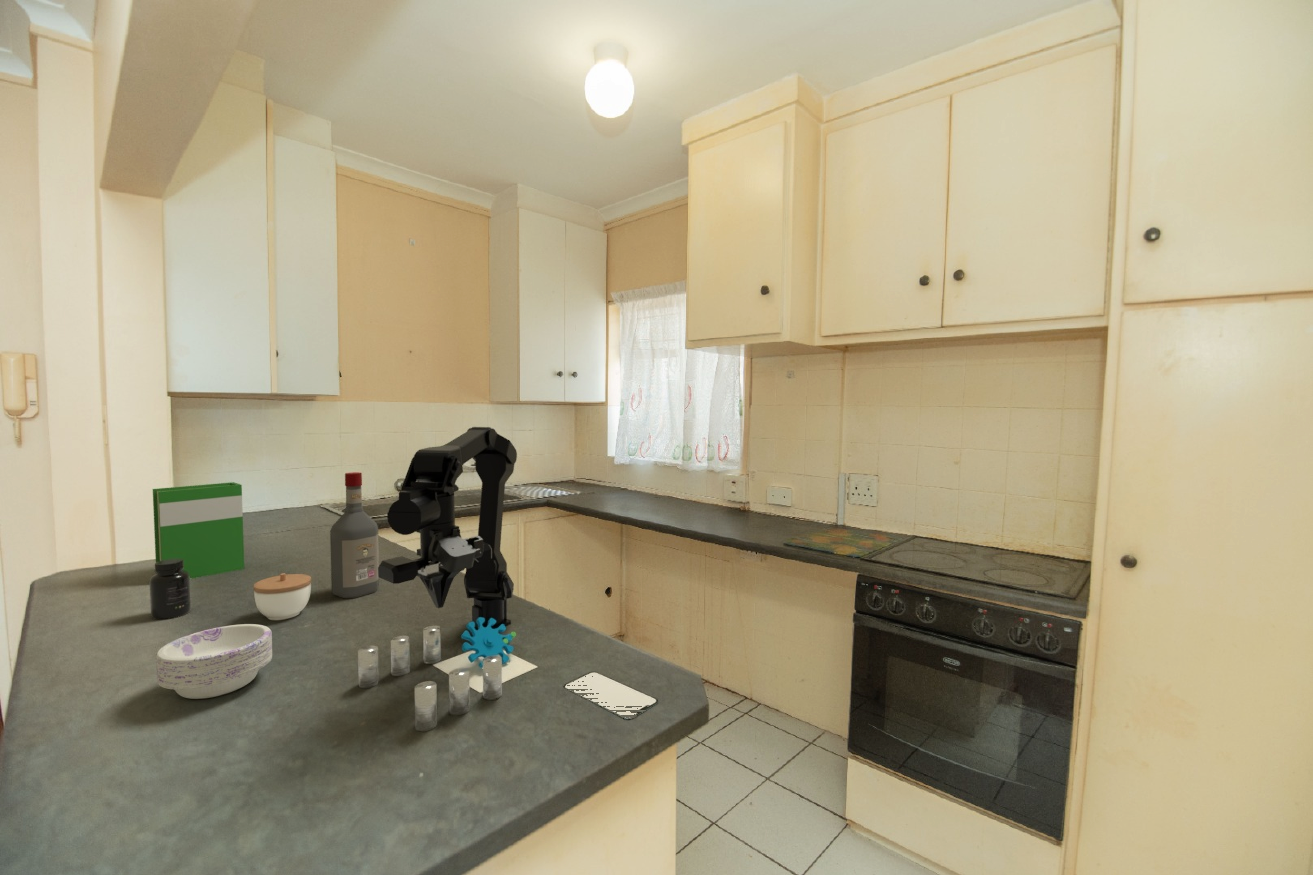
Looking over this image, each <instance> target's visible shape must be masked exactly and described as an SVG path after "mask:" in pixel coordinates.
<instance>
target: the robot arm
mask: <svg viewBox="0 0 1313 875" xmlns="http://www.w3.org/2000/svg"><path fill="white" fill-rule="evenodd" d="M517 458H518V452H517V449H516V448H515V445H513V443H512V442H511V440H510V439H507V438H506V437H505V436H502V435H501V434H499V433H498V432H497V431H496V429H494V428H492V427H490V426H472V427H469V428H467V431H465V432H463V433H462V434H461V435H459V436H458V437H457V436H456V437H455V438H454V439H452V440H451V441H449V442H448V443H445V444H444V445H438V446H429V447H424V448H420V449H418V450H417V451H416V452H415V453H414V454H413V457H412V459H411V461H410V463H409V467H408V469H407V472H406V474H405V477H404V480H403V483H402V485H401V491H399V492H398V499H397V500H395V501H394V502H393V503H392V504H391V505H390V507H389V508H388V512H387V515H386V516H387V523H388V525H389V527H390V528H391V529H392V531H394V532H395V533H397V534H398V535H402V536H409V535H412V534H414V533H415V532H416V533H418V534H420V535H419V540H420V544H419V545H420V548H417V549H416V556H419V557H420V558H416V559H411V558H407V557H405V556H403V555H402V556H398V557H392V558H388V559H384V560H381V561H380V563H379V567H378V577H379V579H382V580H384V581H386V582H388V583H391V584H393V585H395V584H401V583H402V584H403V583H405V582H409V581H414V580H415V578H416V577H418V578H419V579H420V580H421V581H422V583H423V585H424V586H425V588H426V591H427V593H428V595H429V596H430V598H431V600H432V602H433V604H434V607H435V608H437V609H441V608H443V607H444V604H445V603H446V599H447V596H448V593H449V591H450V587H451V585H452V583H453V581H454V579H455V578H456V577H457V575H458V574H459V573H460V572H463V571H464V570H465V573H464V576H463V583H464V589H465V593H466V598H467V599H473V605H472V607H471V621H469V623H470V622H474V623H475V627H474V628H477V629H478V624H477V622H476V620H477V619H478V618H479V617H482V618H484V619H485V621H484V622H483V624H482V626H483V627H487V625H488V621H489V619H490V618H493V619H495V620H496V623H495V624H494V625H493V626H491V628H492V629H496V628H498V627H499V626H500V625H501V624H504V626H506V625H509V624H512V620H511V619H508V616H507V615H508V611H507V610H508V600H507V599H511V598H513V594H514V581H513V580H512V578H511V576H510V575H509V574H508V566H507V565H508V564H507V561H506V559H505V557H504V555H503V553H502V551H501V544H502V543H501V542H502V541H501V540H502V528H503V527H502V526H503V515H504V499H505V488H506V483H507V481H508V480H509V479H510V477H511V476H512V474H514V470H515V464H516V462H517ZM471 459H473V462H475V464H474V465H475V466H474V468H475V471H476V474H477V475H478V477H479V479H480V481H481V491H480V505H479V506H480V507H479V508H480V509H479V517H478V528H477V530H478V532H477V535H475V536H471V537H466V538H462V536H461V529H460V526H459V525H456V516H455V513H456V509H455V492H458V491H459V489H460V488H459V486H458V485H457V484H456V482H457V480H458V478H459V477H460V476H461V474H463V472H464V468H463V466H464V464H466V463H467V462H469V461H470V460H471Z"/></svg>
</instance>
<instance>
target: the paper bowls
mask: <svg viewBox="0 0 1313 875" xmlns="http://www.w3.org/2000/svg"><path fill="white" fill-rule="evenodd" d="M155 656H156V658H155V659H156V679H157V684H158V685H159V686H160V688H161V687H162V688H164V689H168V690H174V692H176V693H177V695H179V696H181V697H183V698H186V699H192V700H194V699H195V700H199V699H202V700H203V699H209V698H214V697H219V696H223V695H226V694H229V693H232V692H235V691H237V690H239V689H241V688H244V687H246V685H249V683H251V682H252V681H253V680H254V679H255V678H256V676H257V674H258V673H259V670H261V669H262V668H264V667H265V666H266V665H268V664H269V663H270V662H271V661H272V659H273V634H272V630H271V629H270V628H269V627H268V626H266V625H262V624H254V623H244V624H243V623H242V624H233V625H231V624H230V625H225V626H218V627H214V628H209V629H205V630H201V631H197V632H195V633H191V634H187V635H184V636H181V637H179V638H177V639H174V640H172V641H171V642H168V643H167V644H165V645H163V646H162V647H161V648H160V649H159V650H158V651H157V653H156V654H155Z"/></svg>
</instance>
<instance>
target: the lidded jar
mask: <svg viewBox="0 0 1313 875" xmlns="http://www.w3.org/2000/svg"><path fill="white" fill-rule="evenodd" d="M311 583H312V577H311V576H310V575H308V574H304V573H292V574H291V573H290V574H289V573H288V574H286V573H284V572H283V573H280V574H279V575H275V576H270V577H267V578H264V579H261V580H259V581H257V582H255V583H254V584H253V586H252V587H253V594H254V601H255V602H254V603H255V605H256V608H257V610H258V611H259V612H260V614H262V615H263V616H264V617H266V618H267V620H269V621H283V620H287V619H292V618H294V617H297V616H298V615H300V614H301V612H302V610H304V608H306V606H307V604H308V602H309V600H310V597H311V591H312V590H311V589H312V584H311Z"/></svg>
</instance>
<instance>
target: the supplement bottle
mask: <svg viewBox="0 0 1313 875" xmlns="http://www.w3.org/2000/svg"><path fill="white" fill-rule="evenodd" d="M183 568H184V564H183V560H182V559H168V560H163V561H159V562H157V563H156V562H155V564H154V572H155V574H154V575H152V576H151V577H150V578H149V584H148V586H149V604H150V605H149V606H150V616H151V618H152V619H154V618H155V619H154V620H169V619H168V618H170V619H174V617H175V618H178V616H179V617H181V616H184V615H186V614H188V613H189V612H190V611H191V610H192V600H191V599H192V597H191V596H192V595H191V579H190V575H189V573H188V572H187V571H184V570H183Z"/></svg>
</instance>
